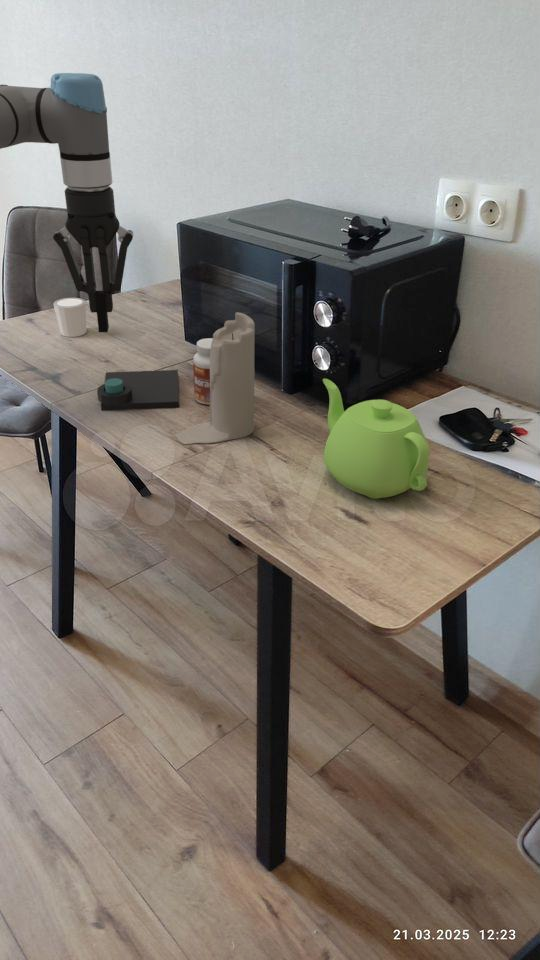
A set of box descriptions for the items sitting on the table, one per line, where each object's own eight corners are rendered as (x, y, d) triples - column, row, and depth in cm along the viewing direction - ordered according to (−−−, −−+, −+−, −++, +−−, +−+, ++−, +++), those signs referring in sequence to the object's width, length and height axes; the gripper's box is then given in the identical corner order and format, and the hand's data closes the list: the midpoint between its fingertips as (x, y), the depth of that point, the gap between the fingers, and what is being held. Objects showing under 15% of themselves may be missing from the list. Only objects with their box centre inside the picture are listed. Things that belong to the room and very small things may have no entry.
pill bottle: (189, 403, 130) (187, 347, 124) (200, 389, 135) (198, 334, 129) (221, 408, 129) (220, 351, 122) (231, 393, 134) (231, 338, 127)
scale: (97, 412, 126) (95, 397, 125) (103, 377, 138) (102, 363, 137) (179, 408, 128) (178, 393, 126) (178, 375, 140) (177, 361, 138)
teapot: (286, 461, 113) (288, 387, 106) (352, 433, 121) (358, 363, 114) (387, 526, 99) (398, 445, 92) (454, 489, 107) (469, 413, 100)
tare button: (105, 394, 126) (104, 386, 125) (106, 387, 129) (105, 378, 128) (123, 394, 127) (122, 385, 126) (124, 386, 129) (123, 377, 128)
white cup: (53, 336, 156) (48, 306, 152) (64, 325, 161) (60, 296, 158) (82, 339, 155) (78, 308, 151) (93, 327, 161) (89, 298, 157)
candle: (170, 430, 121) (162, 319, 110) (243, 416, 126) (243, 307, 115) (184, 450, 116) (177, 334, 105) (260, 434, 121) (262, 322, 110)
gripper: (131, 182, 114) (142, 321, 127) (49, 181, 113) (68, 322, 126) (129, 191, 108) (140, 336, 121) (42, 191, 107) (63, 338, 120)
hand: (103, 329), depth 123 cm, fingers closed
